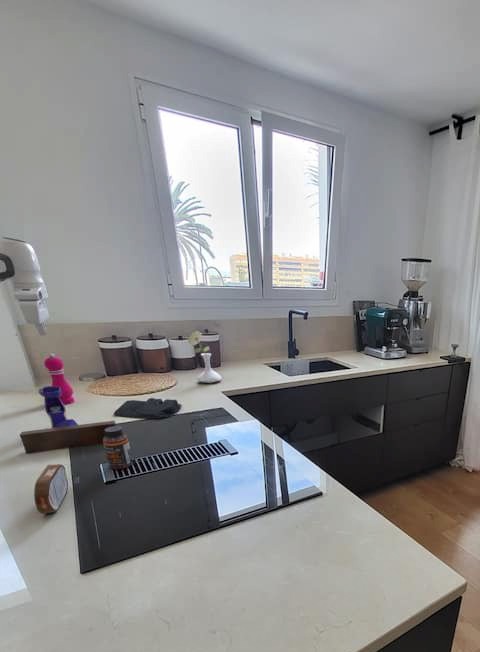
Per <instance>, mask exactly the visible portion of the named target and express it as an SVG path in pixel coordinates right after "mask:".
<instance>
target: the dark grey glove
mask: <svg viewBox="0 0 480 652" xmlns="http://www.w3.org/2000/svg"><path fill="white" fill-rule="evenodd" d="M178 402H179V401H178V400H177V399H169V398H166V399H165V400H163V399H162V398H154V397H150V398H148V399H146V400H135V399H131V400H130V399H129V400H126V401H125V402H123V403H122V404H121V405H119V407H118V408H117V409H115V411H114V412H113V415H114V416H119V417H124V418H132V419H133V418H134V419H150V420H160V419H168V418H171V417H172V415H175V414H177V413H178V412H179V411H180V409H181V408H182V407H183V405H182V404H181V403H178Z"/></svg>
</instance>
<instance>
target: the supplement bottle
mask: <svg viewBox="0 0 480 652" xmlns="http://www.w3.org/2000/svg"><path fill="white" fill-rule="evenodd" d="M105 434H106V436H105V437H104V438H103V443H102V444H103V447H104V452H105V455H106V459H107V463H108V466H109V468H110V469H112V470H116V469H117V470H124V469H127V468H129V467H131V466H132V465H133V464H134V460H133V456H132V452H131V447H130V443H129V438H128V435H127V433H124V432H123V429H122V427H121V426H119V425H118V426H117V425H116V426H114V427H109V428H106V429H105Z"/></svg>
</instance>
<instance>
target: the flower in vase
mask: <svg viewBox="0 0 480 652" xmlns="http://www.w3.org/2000/svg"><path fill="white" fill-rule="evenodd" d="M202 339H203V333H202V332H200V331H199V330H196V331H193V332H192V333H191V335H189V338H188V341H187V342H188V344H189V345H191V346H196V345H199V347H197V348H195V349H194V350H193V353H200V352H201V351H202V352H203V353H200V356H201V357H202V359H203V361H204V366H205V368H204V370H203V371H202V372H201V373H200V374H199V375H198V376H197V381H198V382H200V383H205V384H206V383H207V384H211V383H217V382H219V381H221V380H222V376H221V375H220V374H219V373H217V372H216V371H215V370H213V369H212V367H211V356H212V353H210V352H208V351H210V345H208V346H206V347H204V348H202V345H201V344H200V342H201V341H202Z"/></svg>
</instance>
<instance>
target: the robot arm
mask: <svg viewBox="0 0 480 652" xmlns="http://www.w3.org/2000/svg"><path fill="white" fill-rule="evenodd" d="M41 270H42V269H41V266H40V263H39V259H38V256H37V254H36V252H35V249H34V248H33V246H32V245H31V244H29V243H28V242H26V241H25V240H20V239H17V238H12V237H11V238H10V237H3V236H2V237H0V283H1V282H5V281H6V280H8V281H10V284H11V288H12V291H13V297H14V300H16V301H17V303H18V306H19V309H20V311H21V314H22V316H23V318H24V320H25V322H26V324H27V325H34V326H35V328H36V330H37V332H38V335H39V336H40V337H41V336H46V335H48V334H47V333H48V332H47V328H46V322H45V321H47V320H49V318H50V314H49V310H48V307H47V304H46V300H45V299H49V295H48V294H49V293H48V291H47V288H46V284H45V281H44V280H43V277H42V274H41Z"/></svg>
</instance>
